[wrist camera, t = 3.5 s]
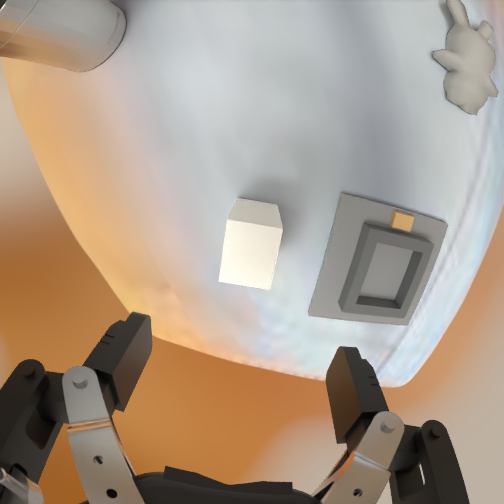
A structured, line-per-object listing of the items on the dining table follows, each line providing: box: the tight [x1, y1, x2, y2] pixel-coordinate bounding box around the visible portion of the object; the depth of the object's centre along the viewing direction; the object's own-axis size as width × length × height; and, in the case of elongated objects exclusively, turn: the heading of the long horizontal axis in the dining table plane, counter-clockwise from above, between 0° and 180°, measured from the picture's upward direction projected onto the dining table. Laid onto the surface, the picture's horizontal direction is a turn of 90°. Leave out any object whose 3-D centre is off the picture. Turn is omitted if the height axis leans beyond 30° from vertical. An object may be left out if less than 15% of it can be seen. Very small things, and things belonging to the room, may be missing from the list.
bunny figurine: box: [433, 0, 498, 115], centre depth 16 cm, size 10×5×15 cm
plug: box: [219, 198, 283, 290], centre depth 24 cm, size 4×5×8 cm
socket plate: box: [308, 193, 448, 326], centre depth 27 cm, size 14×14×3 cm
